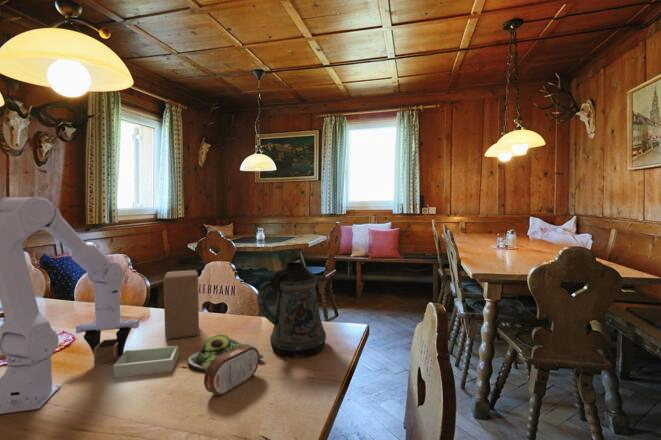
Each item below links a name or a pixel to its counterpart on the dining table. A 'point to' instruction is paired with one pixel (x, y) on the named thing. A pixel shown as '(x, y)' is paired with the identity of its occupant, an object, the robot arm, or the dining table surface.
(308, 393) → the dining table surface
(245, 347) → the tin
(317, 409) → the dining table surface
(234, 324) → the dining table surface
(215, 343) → the salad plate
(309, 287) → the beer stein
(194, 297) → the wooden block
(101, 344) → the walnut crate
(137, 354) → the sage crate
